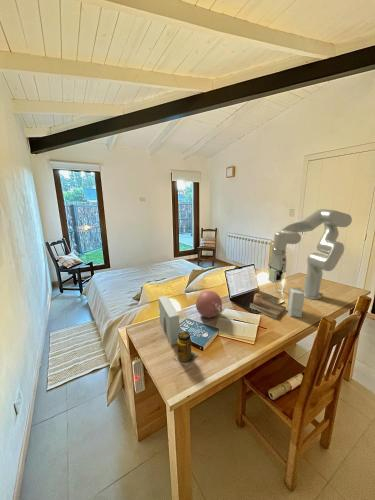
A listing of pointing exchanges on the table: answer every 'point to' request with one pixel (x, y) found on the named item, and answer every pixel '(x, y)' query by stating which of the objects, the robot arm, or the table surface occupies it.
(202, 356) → the table surface
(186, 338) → the condiment
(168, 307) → the skincare box
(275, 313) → the shelf
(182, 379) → the table surface
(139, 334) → the table surface
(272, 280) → the carton
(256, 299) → the jar
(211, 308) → the pink ball
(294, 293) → the skincare box
